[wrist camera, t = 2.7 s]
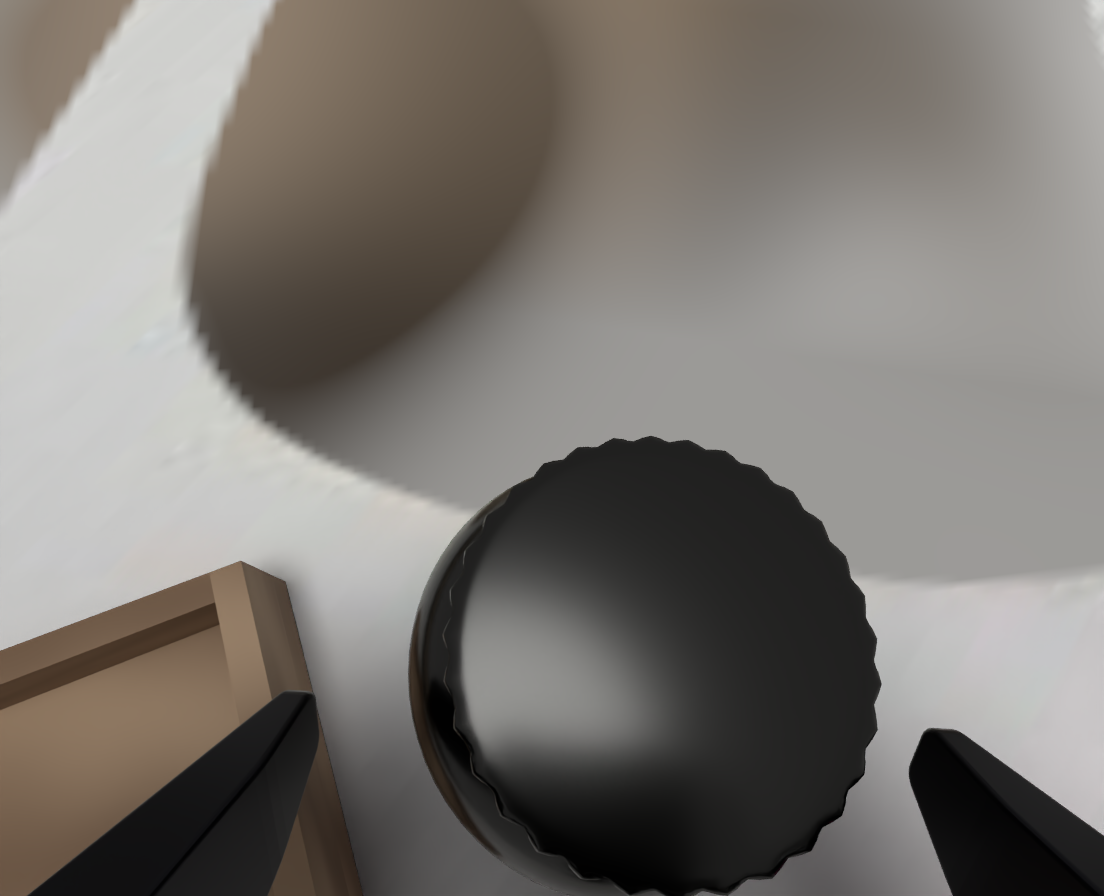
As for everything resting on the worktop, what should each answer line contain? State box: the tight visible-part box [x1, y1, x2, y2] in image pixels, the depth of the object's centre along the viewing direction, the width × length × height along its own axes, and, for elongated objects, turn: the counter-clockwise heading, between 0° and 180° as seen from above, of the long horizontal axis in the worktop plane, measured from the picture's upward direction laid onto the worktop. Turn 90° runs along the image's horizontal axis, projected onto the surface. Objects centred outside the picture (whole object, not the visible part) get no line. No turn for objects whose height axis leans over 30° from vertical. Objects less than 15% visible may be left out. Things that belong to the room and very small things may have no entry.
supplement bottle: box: [408, 436, 881, 896], centre depth 12 cm, size 7×7×12 cm
